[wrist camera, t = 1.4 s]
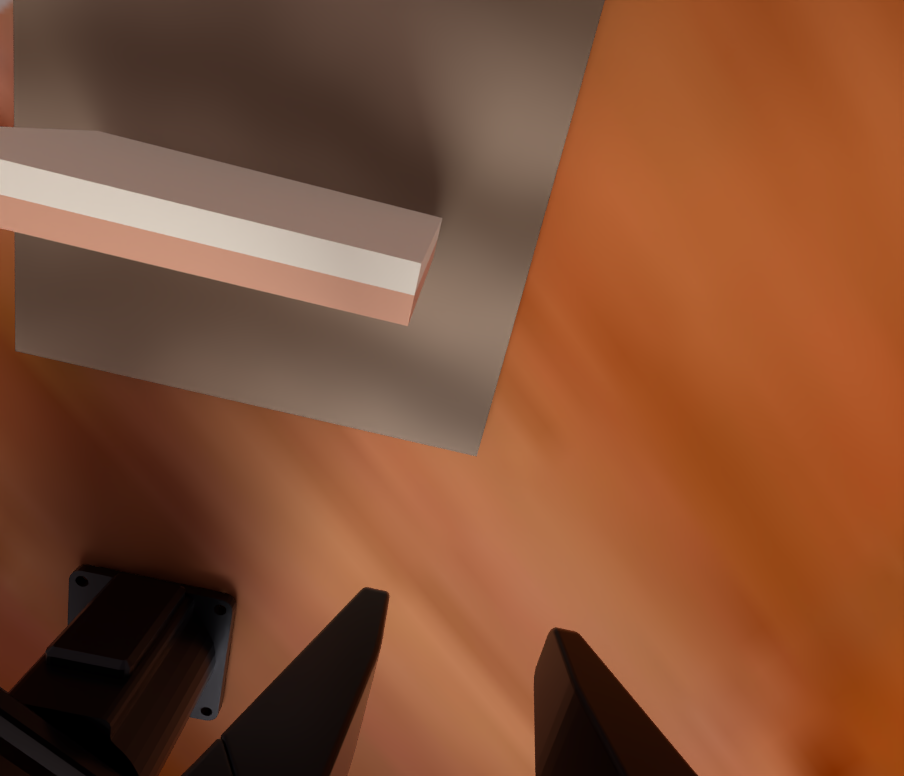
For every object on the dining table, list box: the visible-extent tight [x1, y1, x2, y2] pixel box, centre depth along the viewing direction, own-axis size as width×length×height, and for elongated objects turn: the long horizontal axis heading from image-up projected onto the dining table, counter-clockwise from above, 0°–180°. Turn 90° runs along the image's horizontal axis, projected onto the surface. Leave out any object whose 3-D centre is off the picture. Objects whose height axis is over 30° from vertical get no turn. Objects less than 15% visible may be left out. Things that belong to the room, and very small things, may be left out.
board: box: [13, 0, 605, 456], centre depth 17 cm, size 18×16×1 cm
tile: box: [0, 127, 442, 326], centre depth 13 cm, size 7×10×1 cm
